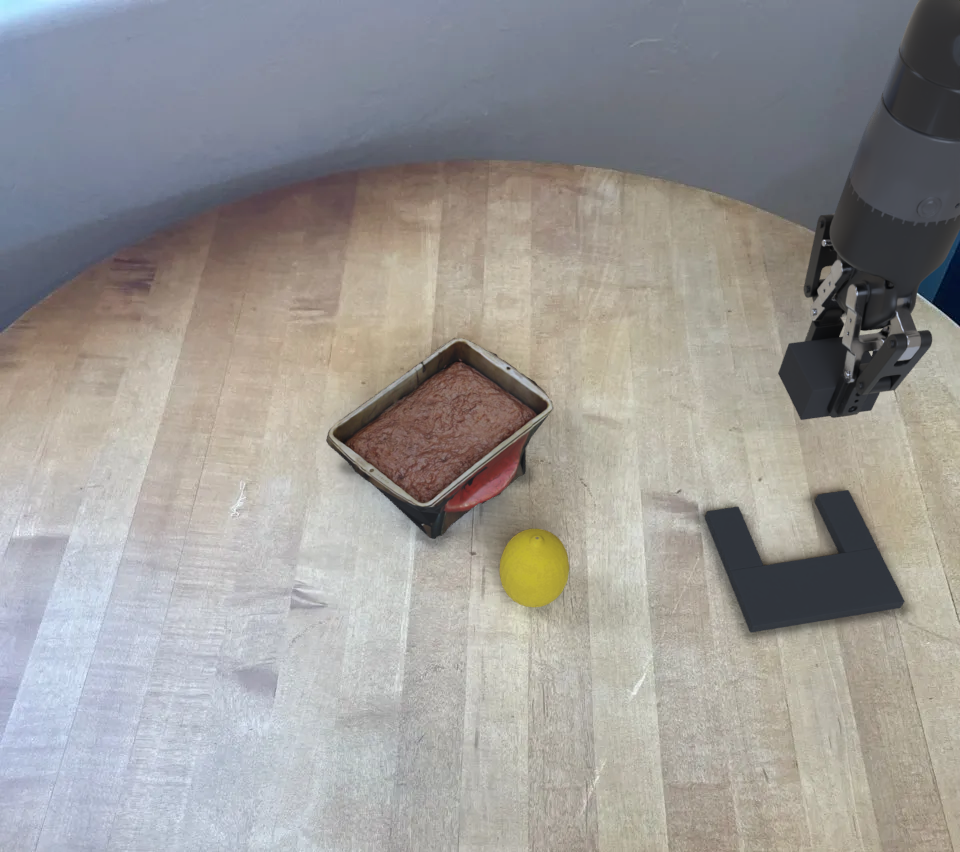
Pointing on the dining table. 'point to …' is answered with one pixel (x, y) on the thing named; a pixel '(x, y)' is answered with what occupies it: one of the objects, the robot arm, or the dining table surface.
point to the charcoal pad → (806, 571)
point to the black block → (816, 375)
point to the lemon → (534, 568)
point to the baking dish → (444, 434)
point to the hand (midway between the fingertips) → (827, 385)
